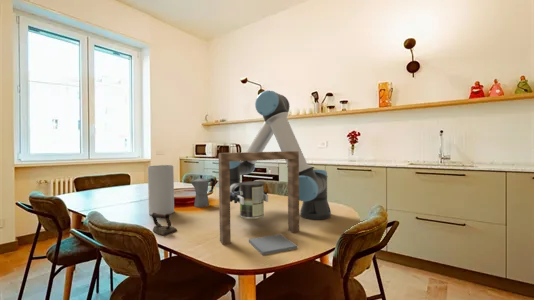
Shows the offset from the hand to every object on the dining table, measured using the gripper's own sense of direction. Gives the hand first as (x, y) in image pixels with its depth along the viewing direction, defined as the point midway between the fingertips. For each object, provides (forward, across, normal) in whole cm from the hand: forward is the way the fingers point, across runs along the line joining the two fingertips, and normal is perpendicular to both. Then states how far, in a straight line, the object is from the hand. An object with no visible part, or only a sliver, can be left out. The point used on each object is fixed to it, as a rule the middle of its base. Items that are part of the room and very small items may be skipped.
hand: (255, 199), depth 110 cm
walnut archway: (+6, 0, -13) cm, 14 cm away
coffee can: (-4, 0, -8) cm, 9 cm away
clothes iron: (-18, +35, -13) cm, 42 cm away
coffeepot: (-58, +11, -13) cm, 61 cm away
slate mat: (+16, 0, -13) cm, 21 cm away
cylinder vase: (-50, +34, -13) cm, 62 cm away
